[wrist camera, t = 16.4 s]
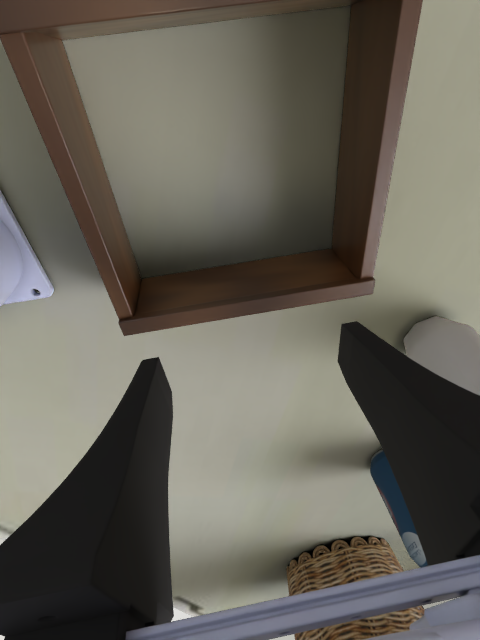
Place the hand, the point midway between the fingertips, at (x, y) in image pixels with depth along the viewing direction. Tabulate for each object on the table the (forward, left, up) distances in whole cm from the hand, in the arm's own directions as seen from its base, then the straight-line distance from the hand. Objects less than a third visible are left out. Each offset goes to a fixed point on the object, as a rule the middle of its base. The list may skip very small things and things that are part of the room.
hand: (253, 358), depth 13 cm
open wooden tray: (+1, +5, -10) cm, 11 cm away
